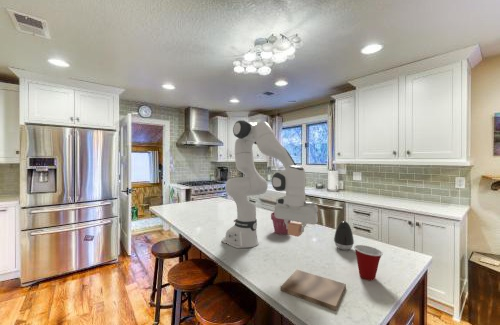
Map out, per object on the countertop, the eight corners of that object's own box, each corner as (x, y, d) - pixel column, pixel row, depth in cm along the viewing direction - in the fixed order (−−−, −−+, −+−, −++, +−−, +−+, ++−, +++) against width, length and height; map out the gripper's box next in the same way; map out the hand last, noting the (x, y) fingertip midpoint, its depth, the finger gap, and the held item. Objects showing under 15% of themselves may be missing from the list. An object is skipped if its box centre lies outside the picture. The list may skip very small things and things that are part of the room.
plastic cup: (388, 283, 90) (389, 253, 90) (362, 284, 89) (363, 254, 89) (371, 270, 101) (372, 243, 101) (348, 270, 100) (349, 244, 100)
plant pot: (266, 231, 154) (266, 213, 154) (280, 227, 163) (280, 210, 163) (282, 237, 143) (282, 217, 143) (296, 232, 152) (296, 213, 152)
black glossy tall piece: (334, 250, 123) (334, 222, 123) (333, 243, 133) (334, 218, 132) (354, 253, 119) (354, 224, 119) (352, 246, 129) (353, 219, 129)
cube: (287, 234, 103) (287, 223, 103) (292, 231, 107) (292, 221, 107) (298, 236, 100) (298, 225, 100) (302, 233, 105) (302, 223, 104)
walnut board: (280, 290, 85) (280, 286, 85) (296, 272, 98) (296, 269, 98) (335, 310, 74) (335, 306, 74) (345, 287, 87) (345, 283, 87)
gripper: (320, 202, 100) (319, 233, 101) (278, 197, 112) (278, 225, 112) (315, 204, 95) (315, 237, 95) (272, 199, 107) (272, 228, 107)
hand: (295, 230), depth 104 cm, fingers closed on cube, 5 cm apart
